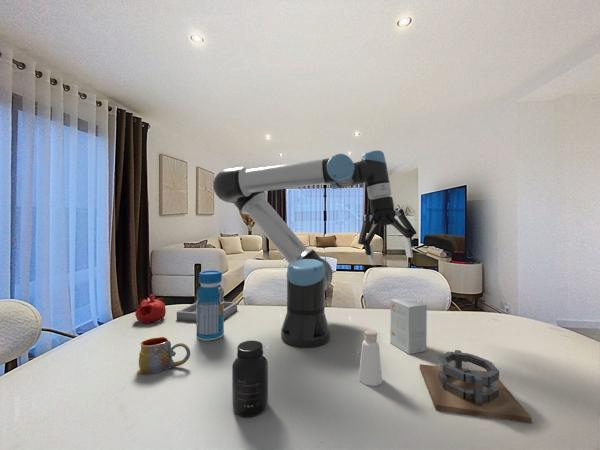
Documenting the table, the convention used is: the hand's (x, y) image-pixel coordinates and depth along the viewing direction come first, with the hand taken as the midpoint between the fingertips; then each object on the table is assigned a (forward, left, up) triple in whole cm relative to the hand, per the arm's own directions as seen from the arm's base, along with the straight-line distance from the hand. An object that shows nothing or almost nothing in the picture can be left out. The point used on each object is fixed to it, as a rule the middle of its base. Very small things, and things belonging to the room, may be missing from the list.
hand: (391, 260), depth 95 cm
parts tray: (-67, 0, -23) cm, 70 cm away
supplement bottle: (-31, -47, -23) cm, 61 cm away
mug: (-56, -38, -23) cm, 72 cm away
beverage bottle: (-56, -18, -23) cm, 63 cm away
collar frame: (+12, -32, -23) cm, 42 cm away
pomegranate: (-84, -10, -23) cm, 87 cm away
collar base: (+12, -32, -23) cm, 42 cm away
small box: (+3, -12, -23) cm, 27 cm away
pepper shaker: (-8, -32, -23) cm, 41 cm away
